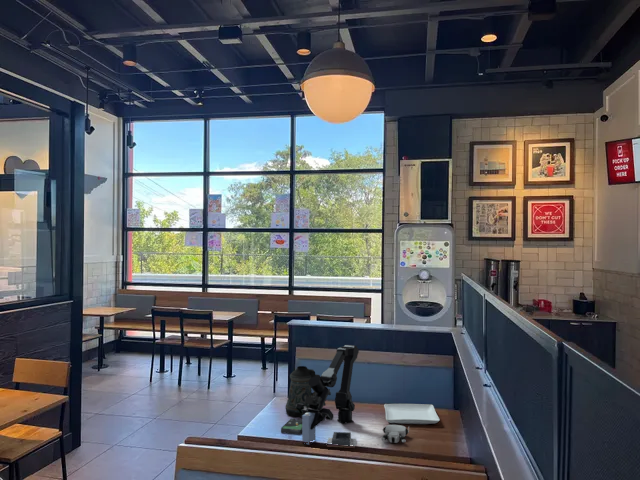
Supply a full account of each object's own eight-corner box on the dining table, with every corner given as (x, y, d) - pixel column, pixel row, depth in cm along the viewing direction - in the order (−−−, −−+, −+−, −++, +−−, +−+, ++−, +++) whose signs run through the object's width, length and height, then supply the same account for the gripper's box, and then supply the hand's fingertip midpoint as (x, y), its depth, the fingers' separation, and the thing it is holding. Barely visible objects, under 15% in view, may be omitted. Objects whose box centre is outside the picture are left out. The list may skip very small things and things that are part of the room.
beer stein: (280, 410, 263) (280, 365, 264) (311, 405, 272) (311, 362, 274) (293, 419, 249) (292, 371, 250) (325, 413, 258) (324, 367, 259)
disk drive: (290, 423, 243) (280, 433, 229) (290, 418, 243) (280, 427, 229) (309, 425, 240) (300, 435, 226) (309, 420, 241) (300, 429, 226)
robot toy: (406, 448, 211) (409, 434, 225) (406, 438, 211) (409, 424, 225) (379, 445, 214) (384, 431, 228) (379, 435, 214) (383, 422, 228)
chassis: (328, 439, 219) (328, 431, 220) (356, 440, 218) (356, 432, 218) (326, 447, 210) (326, 439, 210) (355, 448, 208) (355, 440, 208)
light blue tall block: (309, 439, 220) (309, 410, 221) (315, 440, 218) (315, 411, 219) (302, 442, 215) (302, 413, 216) (308, 444, 213) (308, 415, 214)
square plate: (432, 410, 262) (432, 403, 262) (440, 427, 235) (440, 419, 235) (384, 409, 265) (383, 402, 265) (386, 426, 238) (385, 418, 238)
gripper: (297, 386, 226) (283, 415, 217) (330, 391, 216) (316, 422, 206) (307, 398, 232) (293, 427, 223) (339, 404, 222) (326, 435, 212)
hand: (307, 428), depth 216 cm, fingers open, 4 cm apart
